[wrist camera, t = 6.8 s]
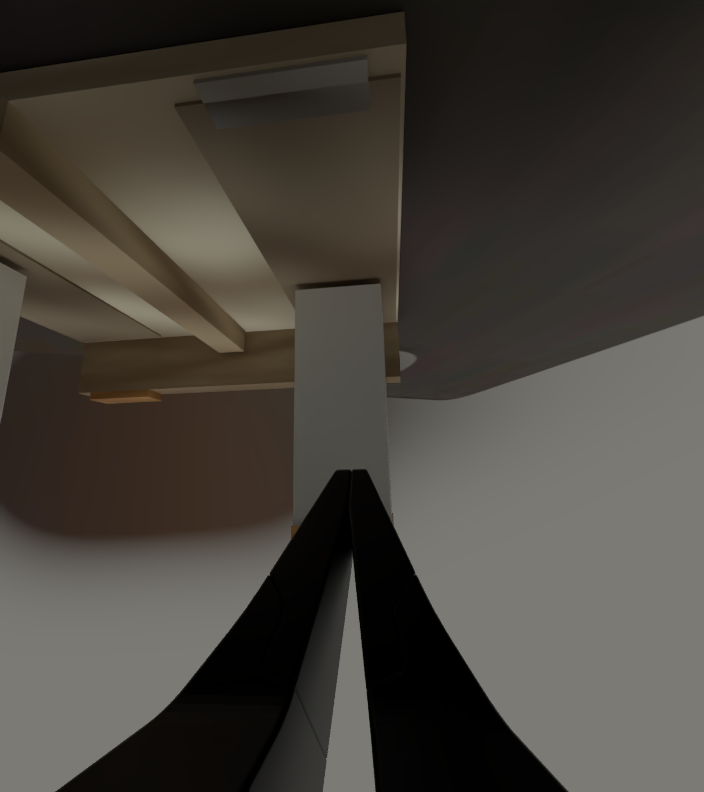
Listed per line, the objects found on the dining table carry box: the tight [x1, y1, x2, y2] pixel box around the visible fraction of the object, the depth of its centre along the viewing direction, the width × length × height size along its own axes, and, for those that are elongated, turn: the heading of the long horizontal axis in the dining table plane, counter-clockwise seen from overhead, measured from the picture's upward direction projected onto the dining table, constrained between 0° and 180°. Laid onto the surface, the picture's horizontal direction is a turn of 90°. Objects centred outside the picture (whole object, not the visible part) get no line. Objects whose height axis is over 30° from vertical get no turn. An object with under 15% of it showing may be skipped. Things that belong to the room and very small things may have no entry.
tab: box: [291, 284, 394, 539], centre depth 16 cm, size 4×4×10 cm
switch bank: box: [0, 11, 407, 404], centre depth 14 cm, size 14×18×4 cm
